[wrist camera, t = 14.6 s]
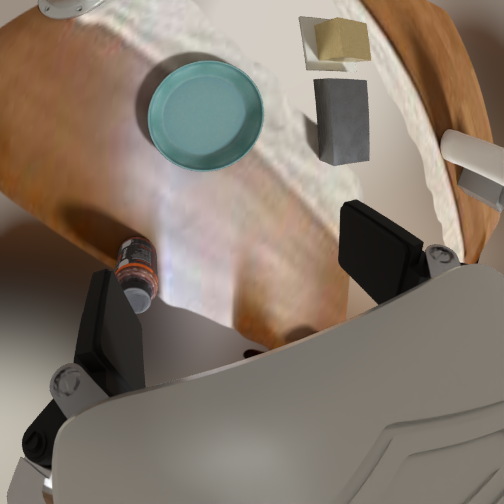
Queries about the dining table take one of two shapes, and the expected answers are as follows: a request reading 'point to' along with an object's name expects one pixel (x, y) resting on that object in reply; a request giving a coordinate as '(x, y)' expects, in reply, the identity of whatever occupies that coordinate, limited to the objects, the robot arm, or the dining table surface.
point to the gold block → (342, 41)
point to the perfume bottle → (482, 189)
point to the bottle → (474, 154)
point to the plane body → (342, 120)
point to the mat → (312, 51)
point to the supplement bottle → (137, 272)
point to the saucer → (205, 116)
